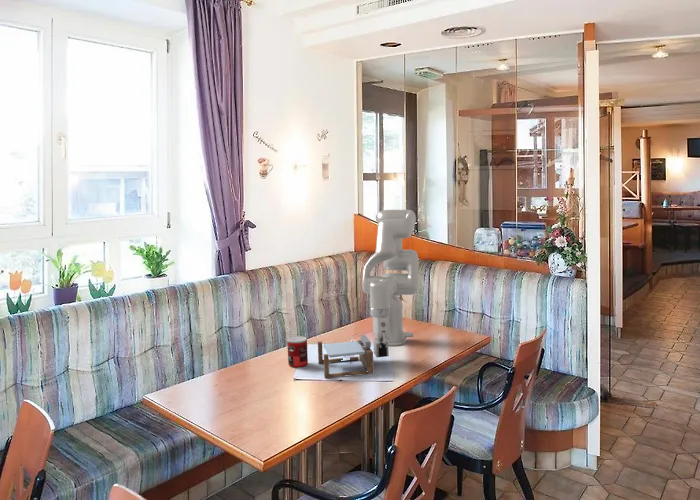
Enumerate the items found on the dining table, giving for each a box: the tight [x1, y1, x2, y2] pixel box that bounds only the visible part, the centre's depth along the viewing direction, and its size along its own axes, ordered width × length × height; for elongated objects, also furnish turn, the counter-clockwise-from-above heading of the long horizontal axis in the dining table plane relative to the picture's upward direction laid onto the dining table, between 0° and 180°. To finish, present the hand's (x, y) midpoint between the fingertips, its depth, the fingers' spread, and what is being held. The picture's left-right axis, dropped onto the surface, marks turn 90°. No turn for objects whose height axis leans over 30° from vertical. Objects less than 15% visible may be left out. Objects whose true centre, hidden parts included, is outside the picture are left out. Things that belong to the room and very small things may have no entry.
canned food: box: [286, 335, 309, 369], centre depth 237 cm, size 8×8×11 cm
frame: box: [317, 341, 374, 379], centre depth 231 cm, size 19×18×9 cm
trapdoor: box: [323, 334, 372, 359], centre depth 231 cm, size 17×14×4 cm
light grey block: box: [372, 338, 390, 359], centre depth 237 cm, size 5×5×6 cm
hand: (381, 353), depth 238 cm, fingers closed on light grey block, 5 cm apart
